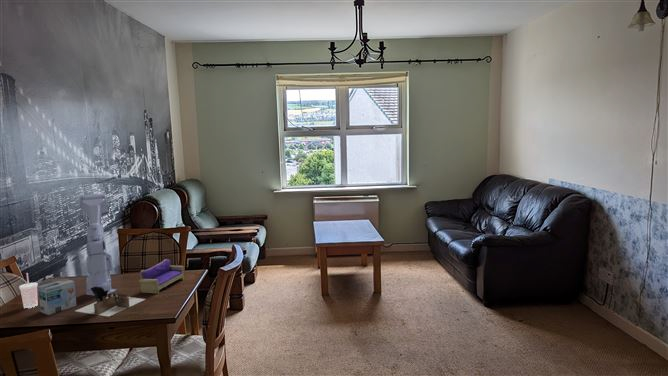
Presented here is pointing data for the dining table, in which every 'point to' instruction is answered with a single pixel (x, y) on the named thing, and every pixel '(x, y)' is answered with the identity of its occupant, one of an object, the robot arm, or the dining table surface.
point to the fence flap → (105, 303)
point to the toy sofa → (160, 276)
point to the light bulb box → (57, 296)
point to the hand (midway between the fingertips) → (101, 304)
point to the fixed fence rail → (122, 300)
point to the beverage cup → (29, 294)
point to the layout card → (112, 310)
